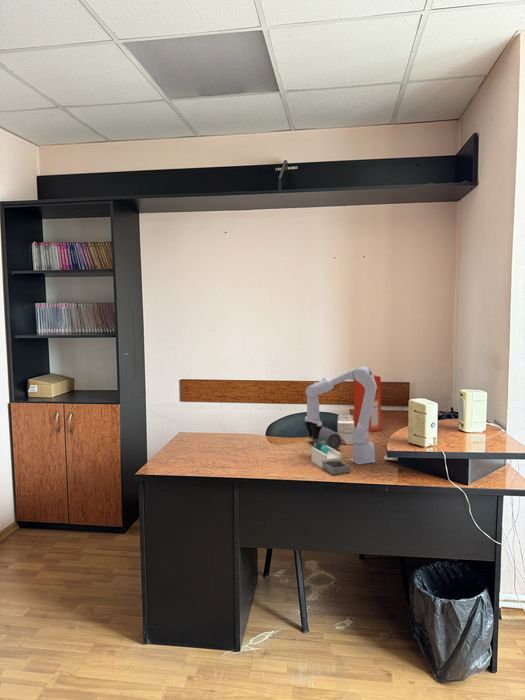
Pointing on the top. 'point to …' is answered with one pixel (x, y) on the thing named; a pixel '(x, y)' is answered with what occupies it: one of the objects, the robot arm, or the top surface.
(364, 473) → the top surface
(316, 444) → the grey rectangular block
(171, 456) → the top surface
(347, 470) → the grey open tray
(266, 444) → the top surface
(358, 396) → the tall red panel
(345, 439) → the ink cartridge box
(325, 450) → the ball
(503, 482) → the top surface
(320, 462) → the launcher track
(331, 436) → the bluetooth speaker
